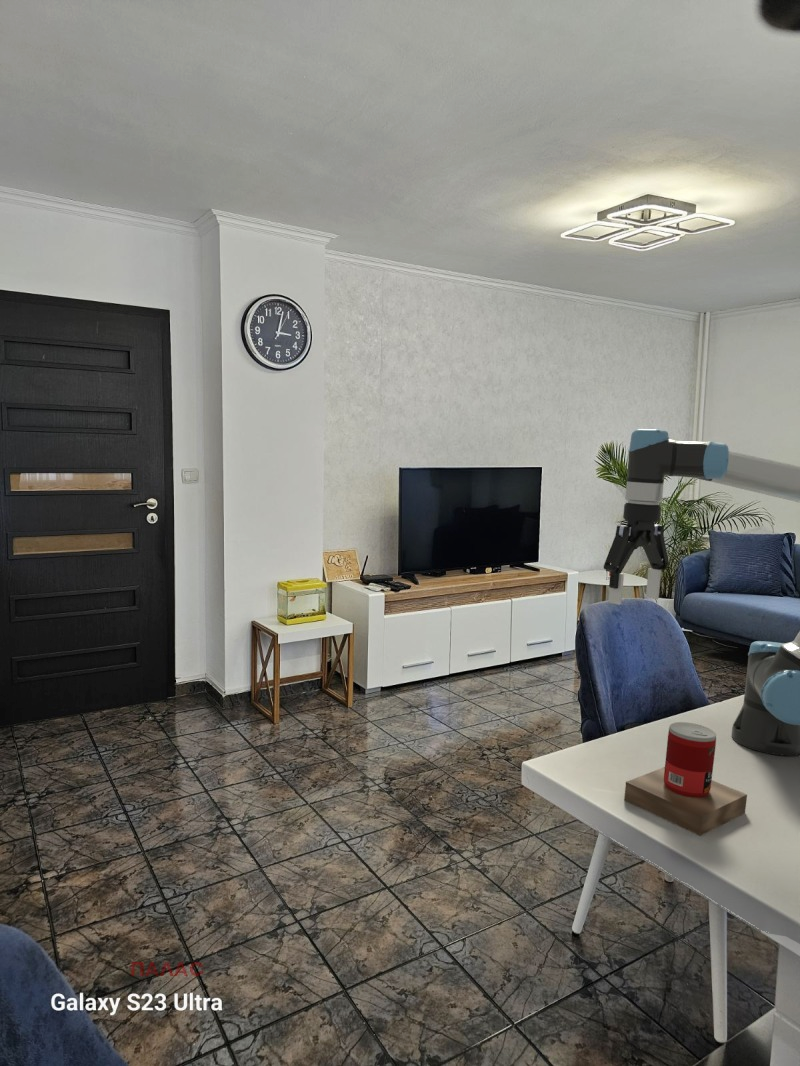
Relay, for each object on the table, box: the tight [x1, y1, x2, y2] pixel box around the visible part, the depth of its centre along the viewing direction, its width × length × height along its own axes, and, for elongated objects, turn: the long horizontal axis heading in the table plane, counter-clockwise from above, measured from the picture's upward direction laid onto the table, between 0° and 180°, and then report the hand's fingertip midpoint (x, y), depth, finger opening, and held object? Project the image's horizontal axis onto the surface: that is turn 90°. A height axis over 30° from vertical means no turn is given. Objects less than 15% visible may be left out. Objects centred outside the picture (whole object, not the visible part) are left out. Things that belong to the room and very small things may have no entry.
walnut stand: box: [623, 766, 748, 837], centre depth 136 cm, size 15×15×4 cm
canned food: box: [664, 721, 717, 797], centre depth 135 cm, size 8×8×11 cm
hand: (633, 600), depth 162 cm, fingers open, 13 cm apart
